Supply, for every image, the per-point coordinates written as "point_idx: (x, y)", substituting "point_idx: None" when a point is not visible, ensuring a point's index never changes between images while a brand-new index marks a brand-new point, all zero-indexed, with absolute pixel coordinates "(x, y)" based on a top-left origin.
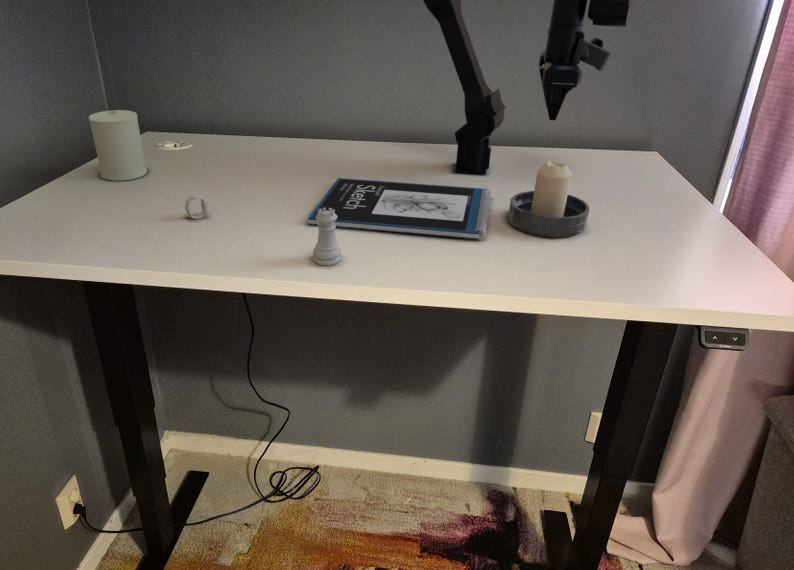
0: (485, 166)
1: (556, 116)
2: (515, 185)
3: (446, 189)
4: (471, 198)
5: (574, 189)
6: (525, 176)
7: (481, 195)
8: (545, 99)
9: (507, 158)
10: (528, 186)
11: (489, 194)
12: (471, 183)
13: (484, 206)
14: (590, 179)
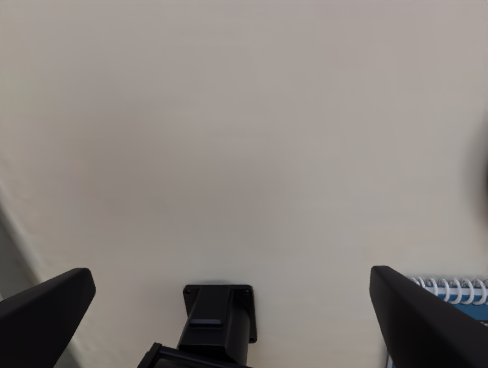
0: (233, 296)
1: (408, 280)
2: (305, 222)
3: None
4: (480, 321)
5: (302, 73)
6: (230, 201)
7: (458, 303)
8: (64, 348)
9: (109, 242)
10: (305, 194)
11: (449, 288)
12: (314, 307)
13: (475, 284)
14: (197, 23)
